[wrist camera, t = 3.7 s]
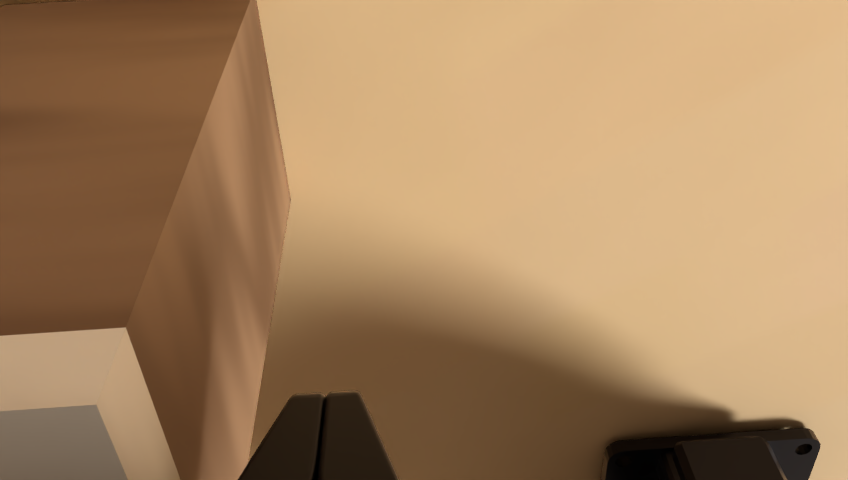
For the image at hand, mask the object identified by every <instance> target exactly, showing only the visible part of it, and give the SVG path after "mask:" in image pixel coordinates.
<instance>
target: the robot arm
mask: <svg viewBox="0 0 848 480" xmlns="http://www.w3.org/2000/svg"><path fill="white" fill-rule="evenodd" d="M819 450H820V443H819V441H818V439H817V437H816V436H815V434H814V432H813V431H812V430H810V429H807V428H796V429H782V430H767V431H753V432H738V433H723V434H709V435H694V436H680V437H665V438H650V439H636V440H622V441H617V442H614V443H612V444H610V445H609V446H608V447H607V448H606V450H605V452H604V459H603V466H602V474H601V480H808V479H809V476H810V474H811V471H812V468H813V466H814V463H815V460H816V458H817V455H818V452H819ZM238 480H399V478H398V476H397V473H396V471H395V469H394V467H393V464H392V462H391V460H390V458H389V455H388V453H387V451H386V449H385V446H384V444H383V442H382V440H381V437H380V435H379V433H378V431H377V428H376V426H375V424H374V422H373V419H372V417H371V415H370V413H369V410H368V408H367V406H366V404H365V401H364V399H363V397H362V395H361V393H360V392H359V391H356V390H351V391H334V392H330V393H328V395H327V397H326V396H325V394H323V393H320V392H318V393H302V394H295V395H293V396H292V397H291V398H290V399H289V400H288V402H287V403H286V405H285V406H284V408H283V410H282V411H281V413H280V414H279V416H278V417H277V419H276V421H275V422H274V424H273V425H272V427H271V428H270V430H269V431H268V433H267V435H266V436H265V438H264V439H263V441H262V442H261V444H260V445H259V447H258V449H257V450H256V452H255V453H254V455H253V456H252V458H251V459H250V461H249V463H248V464H247V466H246V467H245V469H244V470H243V472H242V474H241V475H240V477H239V478H238Z"/></svg>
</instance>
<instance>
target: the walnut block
mask: <svg viewBox="0 0 848 480" xmlns="http://www.w3.org/2000/svg"><path fill="white" fill-rule="evenodd" d="M290 201H291V198H290V192H289V186H288V181H287V175H286V169H285V163H284V158H283V152H282V146H281V140H280V134H279V129H278V123H277V117H276V111H275V106H274V100H273V94H272V88H271V82H270V77H269V71H268V65H267V59H266V54H265V48H264V42H263V36H262V30H261V25H260V19H259V13H258V7H257V2H256V0H77V1H61V2H45V3H29V4H13V5H3V6H1V7H0V480H238V478H239V477H240V475H241V474H242V472H243V470H244V469H245V467H246V466H247V464H248V460H249V453H250V447H251V441H252V435H253V429H254V423H255V416H256V410H257V404H258V398H259V392H260V386H261V380H262V373H263V367H264V361H265V355H266V349H267V343H268V336H269V330H270V324H271V318H272V312H273V306H274V300H275V293H276V287H277V281H278V275H279V269H280V263H281V257H282V250H283V244H284V238H285V232H286V226H287V220H288V213H289V207H290Z"/></svg>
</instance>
